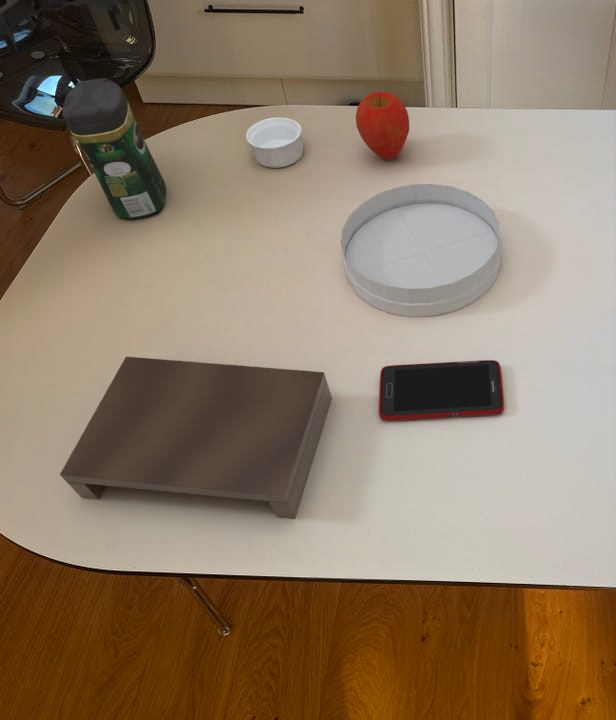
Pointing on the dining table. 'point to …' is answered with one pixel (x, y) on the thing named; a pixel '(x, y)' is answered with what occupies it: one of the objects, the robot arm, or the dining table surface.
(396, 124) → the apple
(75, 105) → the coffee jar
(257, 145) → the ramekin
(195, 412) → the shelf
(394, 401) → the cell phone
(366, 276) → the dish
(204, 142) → the dining table surface
